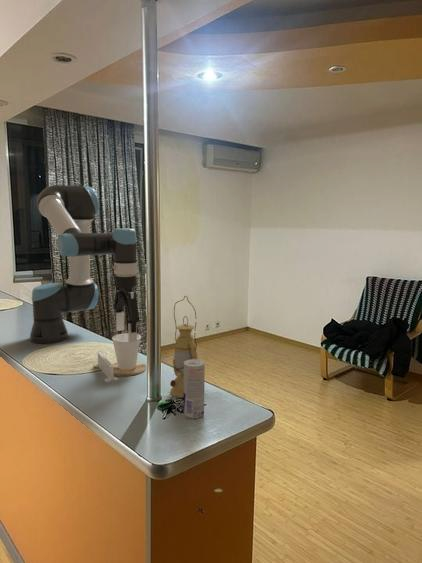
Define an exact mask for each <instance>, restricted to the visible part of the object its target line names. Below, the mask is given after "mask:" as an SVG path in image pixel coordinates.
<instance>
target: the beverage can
mask: <svg viewBox="0 0 422 563" xmlns="http://www.w3.org/2000/svg"><path fill="white" fill-rule="evenodd" d="M205 368H206V366H205V361H204V360H202V359H190V360H186V361H185V362H184V398H183V416H184V417H185V418H188V419H199V418H201V417H203V416H204V414H205Z"/></svg>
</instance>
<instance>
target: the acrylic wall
mask: <svg viewBox="0 0 422 563" xmlns="http://www.w3.org/2000/svg"><path fill="white" fill-rule="evenodd" d="M93 368H95V369H96V368H99V369H100V370H101V372H102V373H103V374H104V375H105V376H106V377H107V378H104V382H105V383H111V382H117V381H119V378H118V376H115V375H114V372H113V365H112V363H111V362H110V361H109V360H108V359H107V357H106V356H105V355H104V354H103V353H102V352H101V351H97V363H96V364H93Z"/></svg>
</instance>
